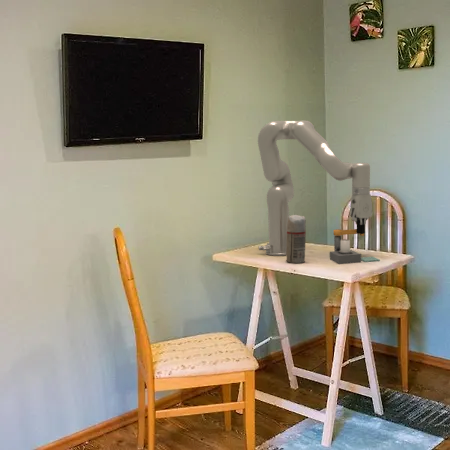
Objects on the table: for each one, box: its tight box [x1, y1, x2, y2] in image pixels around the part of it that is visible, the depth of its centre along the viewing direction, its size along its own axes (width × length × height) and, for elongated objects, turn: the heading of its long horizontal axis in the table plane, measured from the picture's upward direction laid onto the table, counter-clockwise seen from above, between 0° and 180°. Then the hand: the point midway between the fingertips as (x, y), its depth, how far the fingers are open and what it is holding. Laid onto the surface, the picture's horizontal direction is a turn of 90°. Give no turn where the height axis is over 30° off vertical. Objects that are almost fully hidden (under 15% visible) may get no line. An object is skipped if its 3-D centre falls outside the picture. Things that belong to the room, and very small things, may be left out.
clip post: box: [333, 235, 342, 251], centre depth 292 cm, size 5×5×10 cm
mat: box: [361, 256, 381, 263], centre depth 285 cm, size 7×7×1 cm
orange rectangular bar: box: [333, 228, 365, 237], centre depth 292 cm, size 14×4×3 cm, turn 103°
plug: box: [339, 238, 352, 254], centre depth 284 cm, size 5×5×9 cm
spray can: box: [285, 214, 307, 264], centre depth 284 cm, size 8×8×20 cm
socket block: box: [329, 249, 362, 265], centre depth 284 cm, size 10×10×4 cm
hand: (360, 233), depth 290 cm, fingers closed
